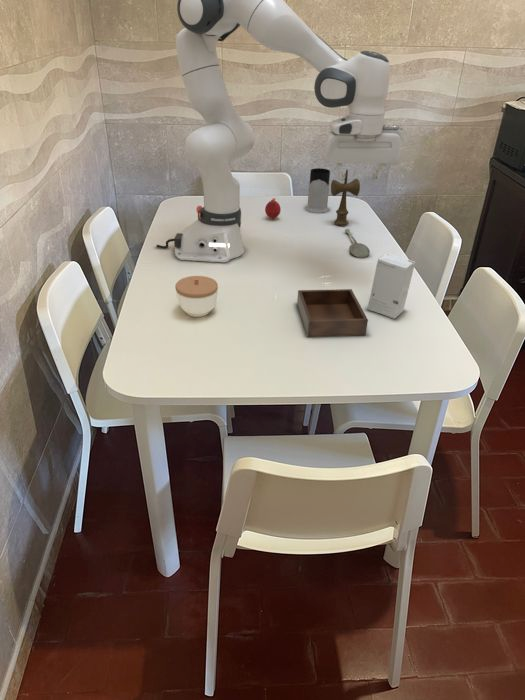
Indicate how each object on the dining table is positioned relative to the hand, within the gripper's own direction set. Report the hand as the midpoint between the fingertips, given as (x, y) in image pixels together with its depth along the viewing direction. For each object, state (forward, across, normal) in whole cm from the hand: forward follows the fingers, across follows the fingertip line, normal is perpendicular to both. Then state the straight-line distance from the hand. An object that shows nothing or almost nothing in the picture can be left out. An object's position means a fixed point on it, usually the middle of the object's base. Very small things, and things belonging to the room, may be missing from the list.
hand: (358, 179), depth 142 cm
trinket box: (+29, +44, +18) cm, 56 cm away
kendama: (+29, -9, -46) cm, 55 cm away
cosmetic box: (+29, -6, +20) cm, 36 cm away
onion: (+29, +16, -52) cm, 62 cm away
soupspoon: (+29, -9, -26) cm, 40 cm away
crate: (+29, +10, +24) cm, 39 cm away
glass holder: (+29, -4, -66) cm, 72 cm away
